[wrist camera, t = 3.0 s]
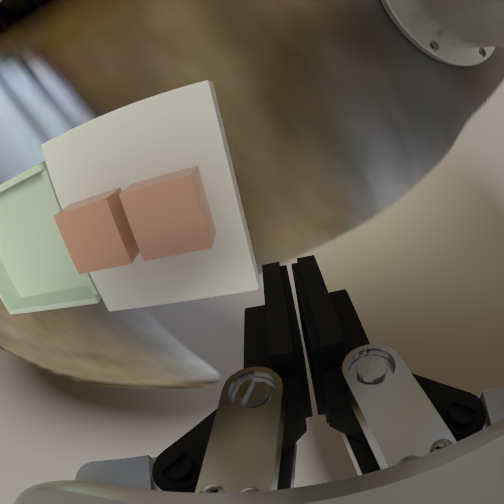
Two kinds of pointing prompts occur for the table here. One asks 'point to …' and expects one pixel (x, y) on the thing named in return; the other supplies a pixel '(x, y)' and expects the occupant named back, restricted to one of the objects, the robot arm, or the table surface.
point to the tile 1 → (97, 232)
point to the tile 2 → (169, 214)
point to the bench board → (152, 165)
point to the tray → (37, 249)
